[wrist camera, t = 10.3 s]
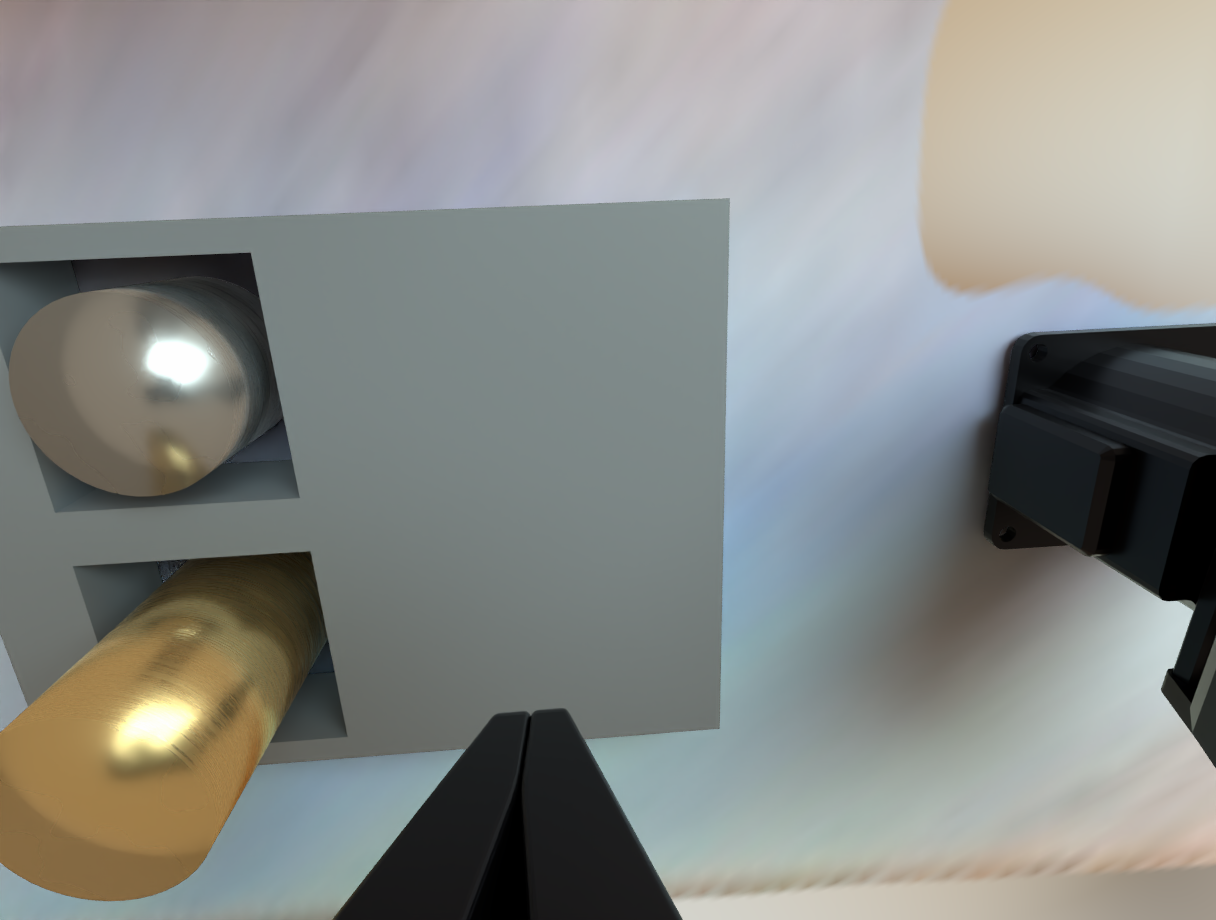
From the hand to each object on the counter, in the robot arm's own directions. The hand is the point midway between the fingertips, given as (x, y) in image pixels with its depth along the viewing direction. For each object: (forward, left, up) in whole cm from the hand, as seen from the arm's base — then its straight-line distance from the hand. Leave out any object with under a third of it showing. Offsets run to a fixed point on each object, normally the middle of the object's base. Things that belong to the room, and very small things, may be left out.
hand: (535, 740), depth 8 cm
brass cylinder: (+9, +4, -12) cm, 16 cm away
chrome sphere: (+9, -3, -12) cm, 15 cm away
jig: (+5, +1, -12) cm, 13 cm away
